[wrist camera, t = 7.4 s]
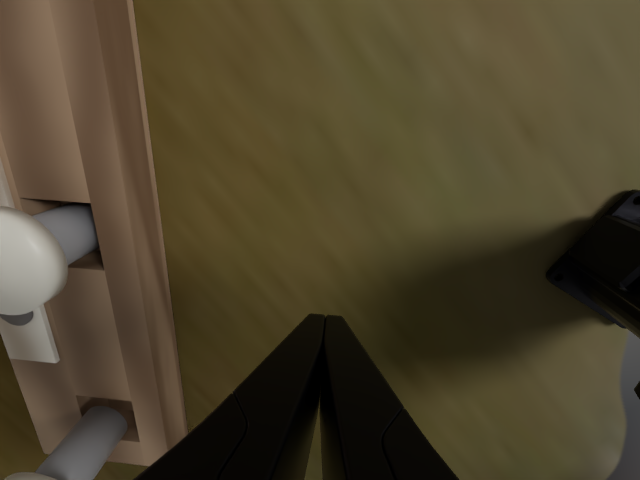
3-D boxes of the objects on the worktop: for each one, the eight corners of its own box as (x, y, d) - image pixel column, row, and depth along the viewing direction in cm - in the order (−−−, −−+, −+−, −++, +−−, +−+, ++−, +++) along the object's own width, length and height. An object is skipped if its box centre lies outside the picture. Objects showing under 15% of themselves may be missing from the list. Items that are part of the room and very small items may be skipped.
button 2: (135, 398, 23) (59, 502, 17) (146, 450, 24) (80, 560, 18) (64, 391, 23) (-36, 491, 17) (80, 442, 25) (-5, 549, 19)
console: (108, -187, 14) (38, -273, 11) (188, 432, 28) (167, 475, 25) (-109, -189, 15) (-238, -273, 12) (73, 419, 29) (38, 460, 25)
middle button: (125, 184, 20) (30, 218, 14) (138, 261, 22) (58, 319, 16) (45, 179, 20) (-84, 209, 14) (64, 255, 22) (-42, 310, 16)
